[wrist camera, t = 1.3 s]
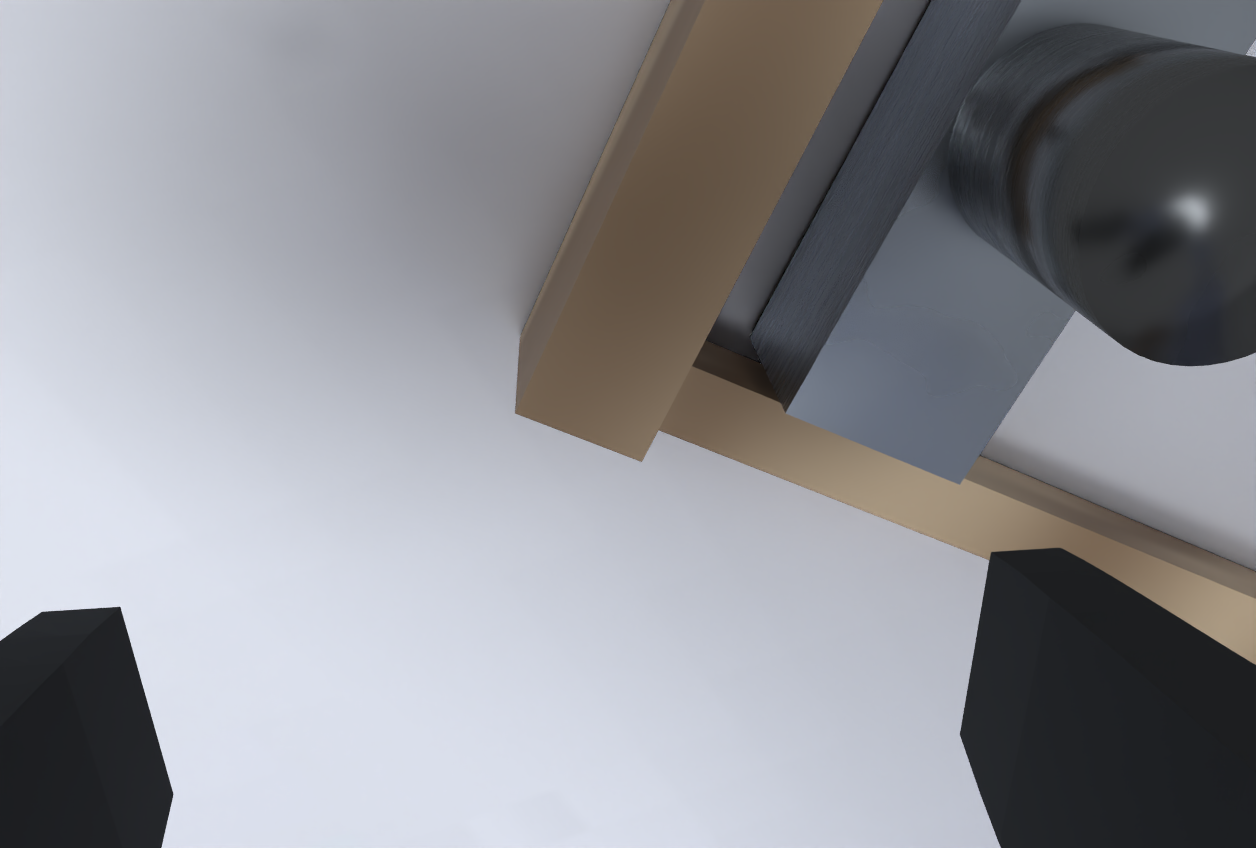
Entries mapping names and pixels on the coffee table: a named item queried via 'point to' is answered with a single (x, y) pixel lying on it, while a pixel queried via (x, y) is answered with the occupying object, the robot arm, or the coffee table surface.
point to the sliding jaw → (1024, 218)
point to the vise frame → (706, 273)
